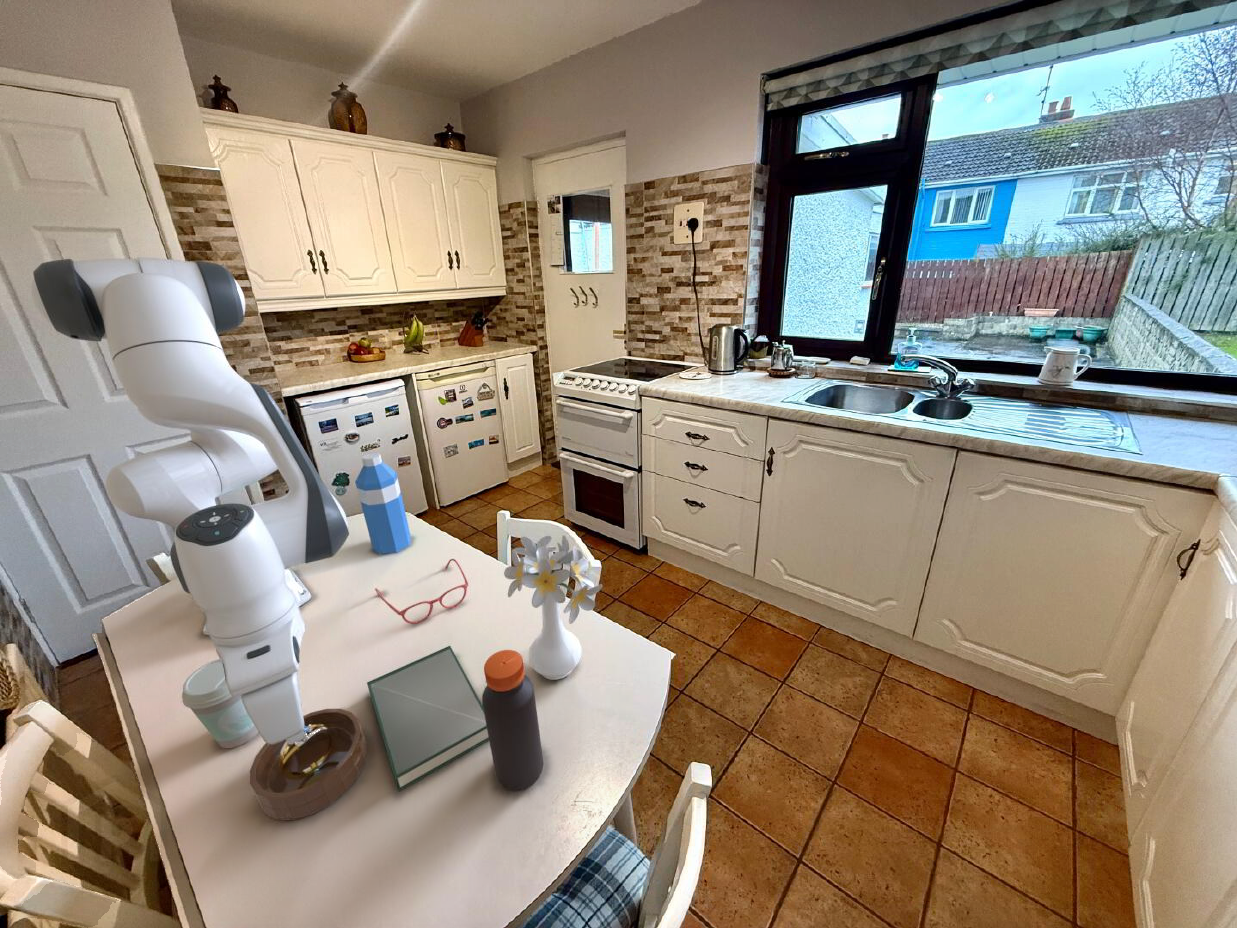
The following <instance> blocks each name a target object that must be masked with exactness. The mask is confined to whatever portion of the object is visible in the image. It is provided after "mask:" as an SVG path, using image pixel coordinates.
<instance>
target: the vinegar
mask: <svg viewBox="0 0 1237 928" xmlns="http://www.w3.org/2000/svg"><path fill="white" fill-rule="evenodd" d="M524 665H525V664H524V659H523V656H522V654H521V653H519V652H518V651H516V650H513V649H504V650H503V649H502V650H499V651H497V652H495V653H493V654H491V655H490V656H489V657H488V658H487V659H486V661H485V662H484V665H483V672H484V677H485V683H486V686H485V687H484V690H483V692H482V695H481V704H482V706H483V710H484V716H485V721H486V726H487V732H488V737H489V740H488V742H489V747H490V753H491V759H492V764H493V769H494V773H495V777H496V780H497V782H498V784H499V785H500V786H501V787H502V788H503V789H505V790H508V791H512V792H513V791H515V792H518V791H523V790H527V788H530V787H531V786H533V785H534V784H535V782H536V781H538V779H539V778H540V776H541V774H542V773H543V768H544V757H543V750H542V741H541V734H540V726H539V720H538V717H539V716H538V710H537V703H536V696H535V695H536V694H535V687H534V683H533V682H532V680H531V678H530V677H528V676H527V675H526V674H525V666H524Z"/></svg>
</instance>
